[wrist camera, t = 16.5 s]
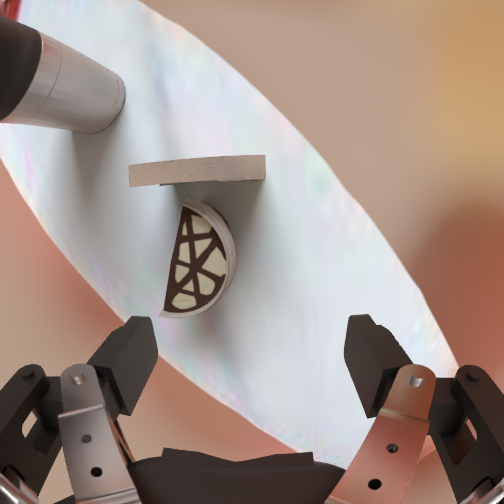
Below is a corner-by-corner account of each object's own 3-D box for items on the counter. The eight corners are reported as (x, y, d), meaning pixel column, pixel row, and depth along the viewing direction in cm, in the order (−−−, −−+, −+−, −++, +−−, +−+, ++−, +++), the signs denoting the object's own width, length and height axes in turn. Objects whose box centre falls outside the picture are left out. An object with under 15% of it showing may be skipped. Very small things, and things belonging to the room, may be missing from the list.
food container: (228, 296, 36) (217, 337, 27) (182, 283, 36) (158, 320, 27) (253, 203, 33) (251, 216, 24) (203, 190, 33) (181, 197, 23)
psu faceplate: (172, 183, 33) (129, 190, 21) (171, 166, 32) (128, 165, 21) (263, 179, 32) (265, 182, 21) (263, 161, 32) (265, 154, 20)
